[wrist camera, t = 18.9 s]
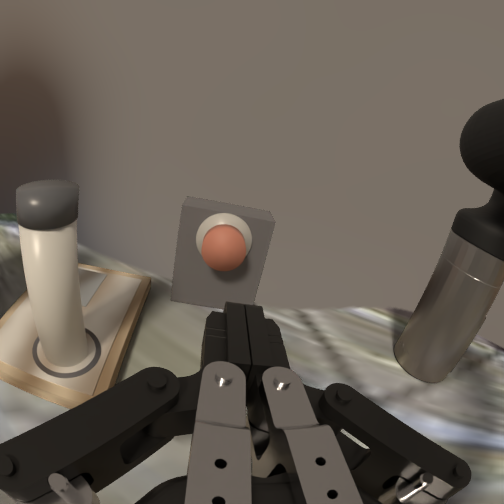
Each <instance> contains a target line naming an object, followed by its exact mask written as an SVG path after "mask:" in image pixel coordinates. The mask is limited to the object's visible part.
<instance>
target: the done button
mask: <svg viewBox="0 0 504 504" xmlns="http://www.w3.org/2000/svg"><path fill="white" fill-rule="evenodd" d="M201 253H202V257H203V259H204V261H205V263H206V264H207V265H208V266H209V267H211V268H213V269H215V270H218V271H230V270H233V269H235V268H237V267H238V266H239V265H240V264H241V263H242V262H243V260H244V258H245V256H246V245H245V239H244V236H243V234H242V233H241V232H240V231H239V230H238V229H237V228H236V227H234V226H231V225H228V224H220V225H216V226H214V227H212V228H211V229H209V230H208V231H207V233H206V234H205V236H204V238H203V243H202V249H201Z"/></svg>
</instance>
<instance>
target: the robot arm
mask: <svg viewBox="0 0 504 504" xmlns="http://www.w3.org/2000/svg"><path fill="white" fill-rule="evenodd" d="M460 152H461V156H462V159H463V162H464V163H465V165H466V167H467V168H468V169H469V171H470V172H472V173H473V174H474V175H475V176H476V177H477V178H478V179H480V180H481V181H483V182H484V183H486V184H488V185H489V186H491V187H492V188H494V191H493V194H492V196H491V198H490V200H489V202H488V203H487V204H486V205H484V206H482V207H479V208H465V209H461V210H459V211H458V213H457V214H456V217H455V219H454V222H453V225H452V227H451V231H450V233H449V236H448V238H447V241H446V244H445V246H444V249H443V251H442V254H441V256H440V258H439V261H438V263H437V265H436V268H435V270H434V272H433V274H432V277H431V279H430V281H429V283H428V285H427V287H426V289H425V291H424V293H423V295H422V297H421V299H420V301H419V303H418V305H417V307H416V309H415V311H414V313H413V315H412V316H411V318H410V320H409V322H408V324H407V325H406V327H405V329H404V331H403V333H402V334H401V336H400V338H399V339H398V341H397V343H396V345H395V347H394V352H395V356H396V358H397V360H398V362H399V363H400V365H401V366H402V367H403V368H404V369H405V370H406V371H407V372H408V373H410V374H411V375H412V376H414V377H416V378H417V379H420V380H422V381H425V382H429V383H437V382H441V381H443V380H444V379H445V378H446V376H447V375H448V374H449V372H452V370H453V369H454V367H455V366H456V365H457V363H458V362H459V360H460V359H461V357H462V356H463V355H464V353H465V352H466V350H467V349H468V347H469V345H470V344H471V342H472V341H473V339H474V338H475V336H476V334H477V333H478V331H479V329H480V328H481V326H482V324H483V323H484V321H485V319H486V315H487V313H488V311H489V309H490V308H491V306H492V304H493V302H494V300H495V298H496V296H497V294H498V292H499V290H500V288H501V286H502V284H503V281H504V99H502V100H499V101H496V102H492V103H490V104H487V105H485V106H483V107H482V108H480V109H479V110H478V111H476V112H475V113H474V114H473V116H471V117H470V119H469V120H468V122H467V123H466V125H465V126H464V128H463V131H462V133H461V138H460ZM246 406H247V411H248V414H247V416H246ZM342 429H344V430H345V431H347V432H348V433H350V434H351V435H352V436H354V437H355V438H357V439H358V440H359V441H361V442H362V443H364V444H365V445H366V446H368V447H369V448H370V449H365V448H363V447H361V446H360V445H358V444H357V443H355V442H354V441H353V440H351V439H350V438H348V437H347V436H346V435H344V434H343V433H342V432H340V431H341V430H342ZM192 433H193V434H192ZM186 434H192V441H191V448H190V455H189V462H188V469H187V475H186V476H181V477H176V478H173V479H170V480H167V481H165V482H163V483H161V484H159V485H158V486H156V487H155V488H153V489H152V490H151V491H149V492H148V493H147V494H146V495H145V496H143V497H142V498H141V499H140V500H139V501H137V502H136V503H135V504H446V502H447V500H448V498H449V497H451V496H452V495H454V494H455V493H457V492H458V491H460V490H461V489H463V488H464V487H466V486H467V485H468V484H469V482H470V480H471V470H470V468H469V466H468V464H467V463H466V462H465V461H464V460H462V459H460V458H459V457H457V456H455V455H454V454H452V453H450V452H449V451H447V450H446V449H444V448H442V447H441V446H439V445H437V444H436V443H434V442H433V441H431V440H429V439H428V438H426V437H425V436H423V435H421V434H420V433H418V432H417V431H415V430H414V429H412V428H411V427H409V426H408V425H406V424H404V423H403V422H401V421H400V420H398V419H397V418H395V417H394V416H392V415H391V414H389V413H388V412H386V411H385V410H383V409H382V408H381V407H379V406H378V405H376V404H375V403H373V402H372V401H370V400H369V399H367V398H366V397H365V396H363V395H362V394H360V393H359V392H357V391H356V390H355V389H353V388H352V387H350V386H348V385H345V384H342V383H334V384H331V385H329V386H328V387H327V388H326V390H325V391H324V390H320V389H316V388H312V387H309V386H306V385H304V384H303V383H302V381H301V379H300V377H299V376H298V375H297V374H296V373H295V372H294V371H292V370H290V366H289V362H288V358H287V355H286V351H285V347H284V345H283V340H282V338H281V332H280V328H279V327H278V325H277V324H276V323H275V322H274V321H273V319H265V317H264V313H263V308H262V306H256V305H249V304H242V303H235V302H228V301H226V303H225V306H224V311H223V313H221V312H214V311H212V312H211V313H210V315H209V316H208V317H207V319H206V325H205V330H204V336H203V342H202V351H201V366H200V371H199V372H197V373H196V374H194V375H191V376H186V377H178V378H177V377H176V376H175V375H174V374H173V373H172V372H171V371H169V370H167V369H164V368H160V367H149V368H145V369H143V370H141V371H139V372H138V373H136V374H134V375H132V376H131V377H129V378H127V379H125V380H124V381H122V382H120V383H118V384H116V385H115V386H113V387H111V388H109V389H108V390H106V391H104V392H102V393H100V394H98V395H97V396H95V397H93V398H91V399H89V400H87V401H86V402H84V403H82V404H80V405H78V406H76V407H74V408H72V409H70V410H69V411H67V412H65V413H63V414H61V415H59V416H57V417H55V418H53V419H51V420H49V421H47V422H45V423H43V424H41V425H39V426H37V427H35V428H33V429H31V430H29V431H27V432H25V433H23V434H21V435H19V436H16V437H14V438H12V439H10V440H8V441H6V442H4V443H1V444H0V489H1V490H2V491H4V492H5V493H6V494H7V495H8V496H9V497H10V498H12V499H13V500H14V501H15V502H16V503H17V504H100V500H99V498H98V496H97V494H96V493H97V492H99V491H100V490H102V489H103V488H105V487H106V486H108V485H109V484H111V483H112V482H114V481H115V480H117V479H118V478H120V477H121V476H123V475H124V474H126V473H127V472H129V471H130V470H131V469H133V468H134V467H136V466H137V465H138V464H140V463H141V462H143V461H144V460H145V459H147V458H148V457H149V456H151V455H152V454H153V453H155V452H156V451H157V450H159V449H160V448H161V447H163V446H164V445H165V444H167V443H168V442H169V441H171V440H172V439H173V438H174V436H179V435H186ZM251 458H252V465H253V467H252V475H251Z"/></svg>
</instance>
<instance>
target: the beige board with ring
mask: <svg viewBox="0 0 504 504" xmlns="http://www.w3.org/2000/svg"><path fill="white" fill-rule="evenodd" d="M78 272H79V285H80V295H81V304H82V312H83V319H84V326H85V332H86V338H87V344H88V353H87V356H86V358H85V359H84V360H83V361H82V362H81V363H79V364H77V365H75V366H72V367H59V366H55V365H53V364H51V363H50V362H49V361H48V360H47V359H46V357H45V355H44V352H43V349H42V346H41V342H40V339H39V336H38V332H37V328H36V325H35V321H34V317H33V313H32V308H31V304H30V299H29V295H28V290H26V291H25V292H24V293H23V294H22V295H21V296H20V297H19V299H18V300H17V301H16V302H15V303H14V304H13V305H12V306H11V308H10V309H9V310H8V311H7V312H6V313H5V314H4V316H3V317H2V318H1V319H0V379H1V380H3V381H5V382H7V383H9V384H11V385H13V386H15V387H18V388H20V389H22V390H24V391H26V392H29V393H31V394H33V395H36V396H38V397H40V398H43V399H45V400H48V401H50V402H53V403H56V404H58V405H61V406H64V407H67V408H69V409H72V408H74V407H76V406H78V405H80V404H82V403H84V402H86V401H87V400H89V399H91V398H93V397H95V396H97V395H98V394H100V393H102V392H104V391H106V390H108V389H109V388H111V387H113V386H114V385H115V382H116V379H117V376H118V373H119V370H120V367H121V364H122V361H123V359H124V356H125V353H126V350H127V347H128V344H129V342H130V339H131V336H132V334H133V331H134V328H135V326H136V323H137V320H138V318H139V315H140V313H141V310H142V308H143V305H144V303H145V300H146V298H147V295H148V293H149V290H150V288H151V278H150V277H145V276H140V275H134V274H129V273H124V272H119V271H114V270H109V269H104V268H99V267H95V266H90V265H85V264H81V263H78Z"/></svg>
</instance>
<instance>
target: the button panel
mask: <svg viewBox="0 0 504 504" xmlns="http://www.w3.org/2000/svg"><path fill="white" fill-rule="evenodd" d="M220 224H228V225H231V226H234V227H236V228H237V229H238V230H239V231H240V232H241V233H242V234H243V236H244V239H245V245H246V256H245V258H244V260H243V262H242V263H241V264H240V265H239V266H238V267H237V268H235V269H233V270H230V271H218V270H215V269H213V268H211V267H209V266H208V265H207V264H206V263H205V261H204V259H203V257H202V253H201V249H202V243H203V238H204V236H205V234H206V233H207V231H208V230H209V229H211V228H212V227H214V226H216V225H220ZM274 226H275V220H274V218H273V216H272V214H271V212H270V211H265V210H260V209H255V208H250V207H244V206H239V205H234V204H228V203H223V202H218V201H212V200H207V199H201V198H195V197H189V196H187V198H186V199H185V201H184V203H183V205H182V211H181V217H180V224H179V231H178V239H177V247H176V256H175V263H174V272H173V282H172V292H171V301H176V302H182V303H188V304H194V305H200V306H206V307H213V308H219V309H224V306H225V303H226V301H228V302H235V303H242V304H249V305H253V304H254V300H255V297H256V293H257V289H258V286H259V282H260V278H261V275H262V271H263V267H264V263H265V260H266V256H267V252H268V249H269V244H270V241H271V237H272V234H273V230H274Z"/></svg>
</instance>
